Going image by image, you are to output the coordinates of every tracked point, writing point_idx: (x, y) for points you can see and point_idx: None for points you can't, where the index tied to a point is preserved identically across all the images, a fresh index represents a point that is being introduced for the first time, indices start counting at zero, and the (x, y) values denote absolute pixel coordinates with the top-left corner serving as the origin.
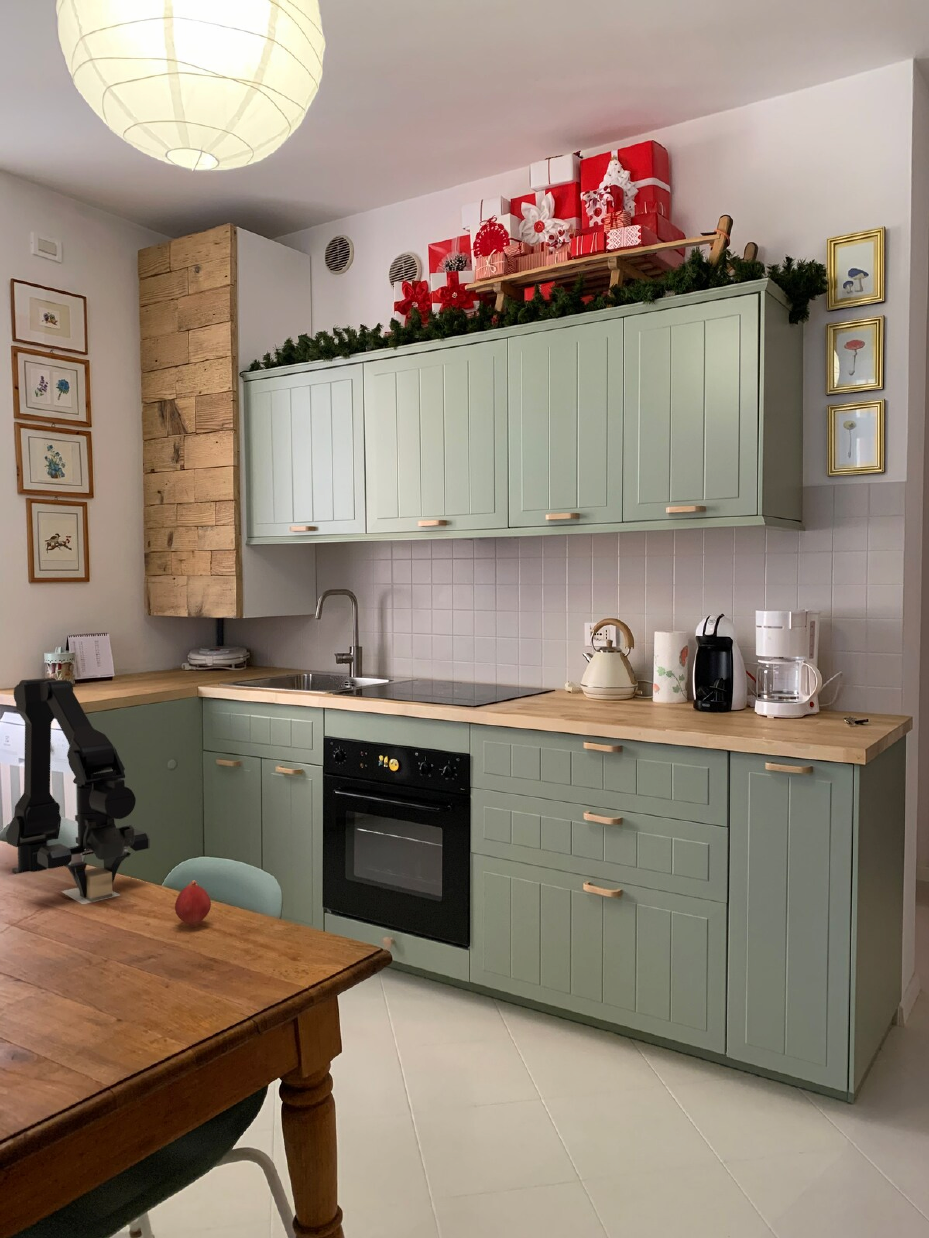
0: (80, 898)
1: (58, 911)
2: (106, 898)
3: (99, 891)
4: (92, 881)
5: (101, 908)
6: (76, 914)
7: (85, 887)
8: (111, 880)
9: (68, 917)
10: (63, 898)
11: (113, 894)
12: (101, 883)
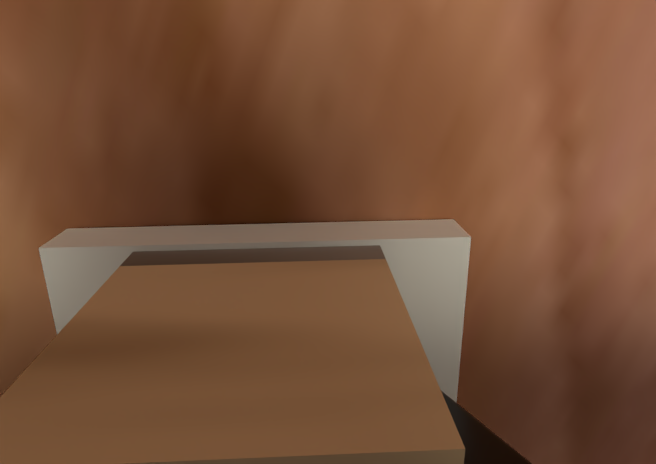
0: None
1: (612, 316)
2: (205, 243)
3: (274, 288)
4: (390, 382)
5: (306, 124)
6: (558, 124)
7: None
8: (48, 357)
9: (652, 92)
10: None
11: None
12: (231, 343)
